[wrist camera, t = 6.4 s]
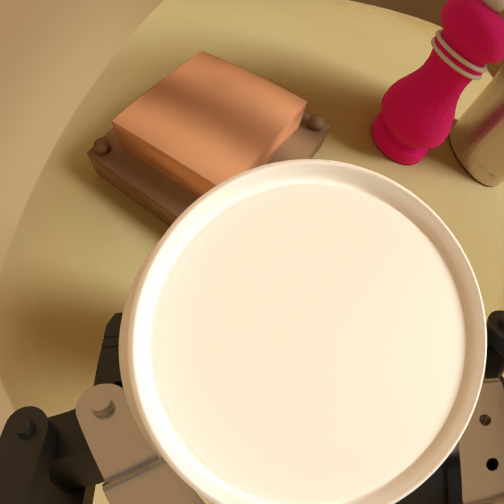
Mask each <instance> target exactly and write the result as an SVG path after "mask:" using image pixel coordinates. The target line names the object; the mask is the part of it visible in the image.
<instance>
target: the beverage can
mask: <svg viewBox="0 0 504 504" xmlns="http://www.w3.org/2000/svg"><path fill="white" fill-rule="evenodd" d="M486 355H487V328H486V318H485V311H484V306H483V301H482V297H481V293H480V289H479V286H478V283H477V280H476V277H475V274H474V272H473V269H472V267H471V265H470V263H469V261H468V258H467V256H466V255H465V253H464V251H463V249H462V247H461V246H460V244H459V242H458V241H457V239H456V238H455V236H454V235H453V234H452V232H451V231H450V229H449V228H448V227H447V226H446V224H445V223H444V222H443V221H442V220H441V218H440V217H439V216H438V215H437V214H436V213H435V212H434V211H433V210H432V209H431V208H430V207H429V206H428V205H427V204H425V203H424V202H423V201H422V200H421V199H420V198H418V197H417V196H416V195H415V194H413V193H412V192H410V191H409V190H408V189H406V188H405V187H403V186H401V185H400V184H398V183H396V182H395V181H393V180H391V179H389V178H387V177H385V176H383V175H381V174H379V173H376V172H374V171H371V170H369V169H366V168H363V167H359V166H356V165H352V164H348V163H344V162H338V161H332V160H321V159H297V160H287V161H280V162H275V163H270V164H266V165H262V166H259V167H256V168H253V169H250V170H247V171H245V172H242V173H240V174H238V175H235V176H233V177H231V178H229V179H227V180H225V181H224V182H222V183H220V184H218V185H217V186H215V187H214V188H212V189H211V190H209V191H208V192H206V193H205V194H204V195H202V196H201V197H200V198H198V199H197V200H196V201H195V202H193V203H192V204H191V205H190V206H189V207H188V208H187V209H186V210H185V211H184V212H183V213H182V214H181V215H180V216H179V217H178V218H177V219H176V220H175V221H174V222H173V224H172V225H171V226H170V227H169V229H168V230H167V231H166V233H165V234H164V235H163V237H162V238H161V239H160V240H159V241H158V243H157V244H156V245H155V246H154V248H153V249H152V250H151V252H150V253H149V255H148V256H147V258H146V259H145V261H144V262H143V264H142V266H141V267H140V269H139V271H138V273H137V275H136V277H135V279H134V281H133V283H132V286H131V288H130V291H129V294H128V296H127V300H126V303H125V306H124V310H123V315H122V320H121V326H120V334H119V365H120V374H121V380H122V385H123V389H124V393H125V396H126V400H127V403H128V405H129V408H130V411H131V413H132V415H133V418H134V420H135V422H136V424H137V426H138V428H139V430H140V431H141V433H142V435H143V436H144V438H145V439H146V441H147V442H148V444H149V445H150V447H151V448H152V449H153V451H154V452H155V453H156V454H157V456H158V457H163V458H164V459H165V461H166V462H167V463H168V464H169V466H170V467H171V468H172V469H173V470H174V471H175V472H176V474H177V475H178V476H179V477H180V478H181V479H182V480H183V481H185V482H186V483H187V484H188V485H189V486H190V487H191V488H192V489H194V490H195V491H196V492H197V493H199V494H200V495H202V496H203V497H204V498H206V499H207V500H209V501H210V502H212V503H214V504H395V503H396V502H398V501H400V500H401V499H403V498H404V497H406V496H407V495H409V494H410V493H411V492H413V491H414V490H415V489H417V488H418V487H419V486H420V485H421V484H423V483H424V482H425V481H426V480H427V479H428V478H429V477H430V476H431V475H432V474H433V473H434V472H435V471H436V470H437V469H438V468H439V467H440V466H441V464H442V463H443V462H444V461H445V460H446V458H447V457H448V456H449V454H450V453H451V452H452V450H453V449H454V447H455V446H456V444H457V443H458V441H459V440H460V438H461V436H462V435H463V433H464V431H465V429H466V427H467V425H468V423H469V421H470V419H471V416H472V414H473V412H474V409H475V406H476V404H477V401H478V397H479V394H480V391H481V387H482V382H483V378H484V372H485V365H486Z"/></svg>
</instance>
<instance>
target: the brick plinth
mask: <svg viewBox="0 0 504 504" xmlns="http://www.w3.org/2000/svg"><path fill="white" fill-rule="evenodd" d="M306 105H307V101H306V100H304V99H302V98H300V97H298V96H296V95H295V94H293V93H291V92H289V91H287V90H285V89H283V88H281V87H280V86H278V85H276V84H274V83H272V82H270V81H268V80H266V79H264V78H262V77H260V76H258V75H255V74H253V73H251V72H249V71H247V70H245V69H243V68H240V67H238V66H236V65H234V64H232V63H229V62H227V61H225V60H222V59H220V58H218V57H215V56H213V55H211V54H208V53H206V52H203V51H202V52H200V53H199V54H197V55H196V56H194V57H193V58H191V59H190V60H188V61H187V62H186V63H184V64H183V65H181V66H180V67H178V68H177V69H176V70H174V71H173V72H172V73H170V74H169V75H167V76H166V77H165V78H163V79H162V80H161V81H159V82H158V83H157V84H156V85H154V86H153V87H152V88H150V89H149V90H148V91H147V92H145V93H144V94H143V95H142V96H140V97H139V98H138V99H137V100H135V101H134V102H133V103H132V104H131V105H129V106H128V107H127V108H126V109H125V110H124V111H122V112H121V113H120V114H119V115H118V116H117V117H116V118H114V119H113V120H112V123H113V126H114V128H113V129H112V130H111V131H109V132H108V133H107V134H106V135H105V136H104V137H101V138H99V139H97V140H96V141H95V142H94V147H93V148H92V149H91V150H90V151H89V152H88V153H87V154H88V155H89V157H90V159H91V161H92V163H93V165H94V167H95V169H96V171H97V173H98V174H100V175H101V176H102V177H104V178H105V179H106V180H108V181H109V182H111V183H112V184H113V185H115V186H116V187H117V188H119V189H120V190H121V191H123V192H124V193H125V194H127V195H128V196H130V197H131V198H132V199H134V200H135V201H136V202H138V203H139V204H141V205H142V206H143V207H145V208H146V209H147V210H149V211H150V212H152V213H153V214H154V215H156V216H157V217H159V218H160V219H161V220H163V221H164V222H166V223H167V224H168V225H170V226H171V225H172V224H173V222H174V221H175V220H176V219H177V218H178V217H179V216H180V215H181V214H182V213H183V212H184V211H185V210H186V209H187V208H188V207H189V206H190V205H191V204H192V203H193V202H195V201H196V200H197V199H198V198H200V197H201V196H202V195H204V194H205V193H206V192H208V191H209V190H211V189H212V188H214V187H215V186H217V185H218V184H220V183H222V182H224V181H225V180H227V179H229V178H231V177H233V176H235V175H238V174H240V173H242V172H245V171H247V170H250V169H253V168H256V167H259V166H262V165H266V164H270V163H275V162H280V161H287V160H297V159H312V157H313V156H314V155H315V153H316V152H317V151H318V149H319V148H320V147H321V145H322V143H323V140H324V138H325V136H326V134H327V132H328V130H329V128H330V126H329V125H327V124H326V123H324V119H323V118H322V117H321V116H319V115H311V114H309V113H307V112H305V111H304V110H305V107H306Z"/></svg>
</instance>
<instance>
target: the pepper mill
mask: <svg viewBox="0 0 504 504" xmlns="http://www.w3.org/2000/svg"><path fill="white" fill-rule="evenodd" d="M503 9H504V0H484V2H483V1H481V0H449V1H448V2H446V4H445V5H444V6H443V8H442V11H441V22H442V26H443V30H438V31H437V32H436V36H435V37H434V38H432V40H431V44H432V47H433V49H432V52H431V54H430V56H429V58H428V59H427V60H426V62H425V63H424V65H422V66H421V67H420V68H419V69H418V70H416V71H414V72H413V73H411V74H409V75H407V76H405V77H403V78H402V79H400V80H398V81H397V82H396V83H394V84H393V85H392V86H391V87H390V88H389V89H388V91H387V92H386V93H385V94H384V97H383V99H382V111H381V112H380V113H379V114H378V116H377V118H376V119H375V121H374V122H373V125H372V129H371V131H372V136H373V139H374V141H375V143H376V145H377V146H378V147H379V149H380V150H381V151H382V152H383V153H384V154H385V155H386V156H388V157H389V158H391V159H392V160H394V161H396V162H398V163H401V164H404V165H413V164H416V163H418V162H419V161H420V160H421V159H422V158H423V157H424V156H425V155H426V153H427V152H428V150H429V149H432V148H436V147H438V146H440V145H441V144H442V143H443V142H444V141H445V139H446V138H447V136H448V135H449V133H450V130H451V128H452V125H453V121H454V115H455V109H456V105H457V101H458V99H459V96H460V94H461V93H462V91H463V90H464V88H465V87H466V86H467V85H468V84H469V83H470V82H471V81H472V80H479V79H480V78H481V76H482V74H483V73H485V72H486V71H487V65H486V64H488V63H496V62H500V61H501V60H503V59H504V20H503V19H502V17H501V16H500V15H499V14H498V13H497V12H501V11H502V10H503Z"/></svg>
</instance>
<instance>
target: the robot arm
mask: <svg viewBox="0 0 504 504" xmlns="http://www.w3.org/2000/svg"><path fill="white" fill-rule="evenodd" d="M450 142H451V145H452V148H453V150H454V152H455V154H456V156H457V158H458V159H459V161H460V162H461V164H462V165H463V166H464V168H465V169H466V170H467V171H468V172H469V173H470V174H471V175H472V176H473V177H474V178H475V179H476V180H478V181H479V182H481V183H482V184H484V185H487V186H492V187H494V186H497V185H498V184H499V183H501V182H502V181H503V180H504V66H503V67H502V68H501V69H500V71H499V72H498V73H497V74H496V76H495V77H494V78H493V79H492V81H491V82H490V83H489V84H488V85H487V87H486V88H485V89H484V90H483V92H482V93H481V94H480V95H479V96H478V98H477V99H476V100H475V101H474V102H473V104H472V105H471V106H470V107H469V108H468V109H467V110H466V112H465V113H464V114H463V115H462V116H461V118H460V119H459V120H458V121H457V122H456V123H455V125H454V126H453V127H452V128H451V130H450ZM122 315H123V313H116V314H115V315H114V316H113V317H112V319H111V320H110V321H109V323H108V324H107V326H106V330H105V334H104V339H103V343H102V349H101V352H100V357H99V361H98V366H97V371H96V376H95V382H94V386H93V387H91V388H89V389H88V390H87V391H85V392H84V393H83V394H82V395H81V397H80V398H79V400H78V401H77V404H76V409H74V410H71V411H68V412H65V413H62V414H59V415H55V416H52V417H49V418H48V417H47V416H46V414H45V413H44V412H43V411H42V410H41V409H39V408H37V407H32V406H28V407H23V408H21V409H18V410H17V411H15V412H14V413H13V414H12V415H11V416H10V417H9V419H8V420H7V422H6V424H5V427H4V429H3V432H2V434H1V437H0V504H92V503H93V497H94V491H95V485H96V484H99V483H102V482H105V483H104V484H103V485H102V487H103V491H104V493H105V496H106V498H107V500H108V501H109V503H110V504H205V503H204V502H203V501H202V499H201V498H200V497H199V496H198V494H197V493H196V492H195V491H194V490H193V489H192V488H191V487H190V486H189V485H188V484H187V483H186V482H185V481H183V480H182V479H181V478H180V477H179V476H178V475H177V474H176V472H175V471H174V470H173V469H172V468H171V467H170V466H169V464H168V463H167V462H166V461H165V459H164V458H163V457H158V456H157V454H156V453H155V452H154V451H153V449H152V448H151V447H150V445H149V444H148V442H147V441H146V439H145V438H144V436H143V435H142V433H141V431H140V430H139V428H138V426H137V424H136V422H135V420H134V418H133V415H132V413H131V411H130V408H129V405H128V403H127V400H126V396H125V393H124V389H123V385H122V380H121V374H120V365H119V334H120V326H121V320H122ZM486 328H487V355H486V365H485V372H484V378H483V382H482V387H481V391H480V394H479V397H478V401H477V404H476V406H475V409H474V412H473V414H472V416H471V419H470V421H469V423H468V425H467V427H466V429H465V431H464V433H463V435H462V436H461V438H460V440H459V441H458V443H457V444H456V446H455V447H454V449H453V450H452V452H451V453H450V454H449V456H448V457H447V458H446V460H445V461H444V462H443V463H442V464H441V466H440V467H439V468H438V469H437V470H436V471H435V472H434V473H433V474H432V475H431V476H430V477H429V478H428V479H427V480H426V481H425V482H424V483H423V484H421V485H420V486H419V487H418V488H417V489H415V490H414V491H413V492H411V493H410V494H409V495H407V496H406V497H404V498H403V499H401V500H400V501H398V502H396V503H395V504H504V378H503V377H502V374H503V372H504V311H494V312H492V313H491V314H490V315H489V317H488V319H487V322H486Z"/></svg>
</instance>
